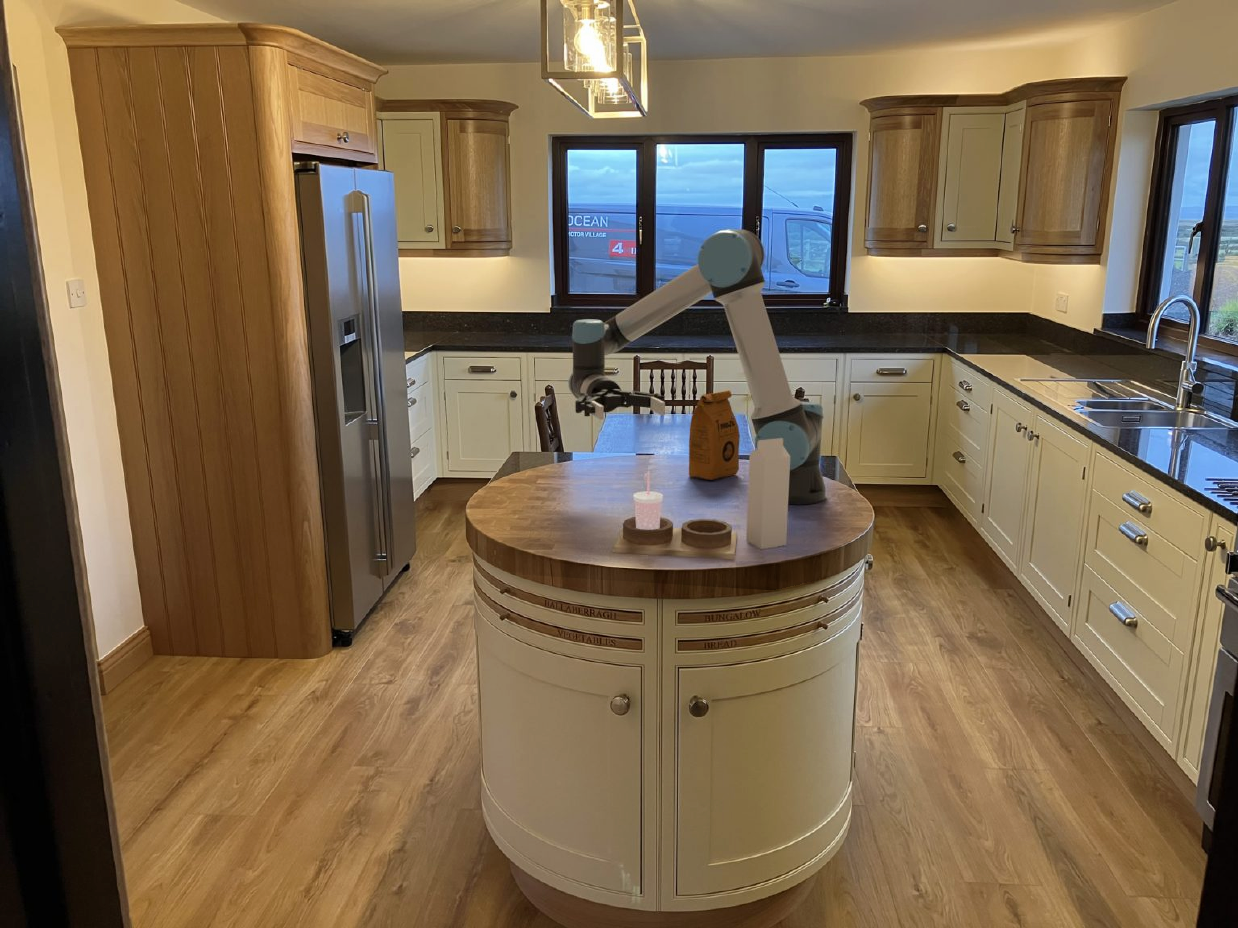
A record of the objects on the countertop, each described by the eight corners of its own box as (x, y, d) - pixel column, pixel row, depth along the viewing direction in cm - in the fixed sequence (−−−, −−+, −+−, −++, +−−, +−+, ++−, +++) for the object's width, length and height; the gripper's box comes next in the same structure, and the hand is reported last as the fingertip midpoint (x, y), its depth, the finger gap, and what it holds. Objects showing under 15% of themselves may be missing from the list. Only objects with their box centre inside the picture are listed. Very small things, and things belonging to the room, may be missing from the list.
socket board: (737, 536, 206) (737, 517, 204) (734, 559, 192) (734, 539, 191) (624, 530, 209) (624, 511, 208) (613, 552, 196) (613, 532, 195)
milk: (786, 546, 200) (792, 441, 195) (760, 549, 198) (766, 443, 192) (770, 537, 206) (775, 434, 200) (745, 540, 203) (750, 437, 198)
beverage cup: (658, 543, 198) (660, 476, 194) (629, 540, 199) (630, 474, 196) (665, 534, 203) (666, 468, 200) (636, 531, 205) (637, 466, 201)
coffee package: (744, 476, 253) (747, 392, 247) (710, 484, 245) (713, 397, 240) (716, 468, 260) (719, 386, 255) (683, 476, 252) (685, 392, 247)
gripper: (652, 406, 228) (687, 424, 209) (548, 413, 221) (575, 432, 201) (652, 374, 227) (688, 389, 207) (548, 380, 219) (575, 396, 199)
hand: (632, 410), depth 204 cm, fingers open, 13 cm apart
